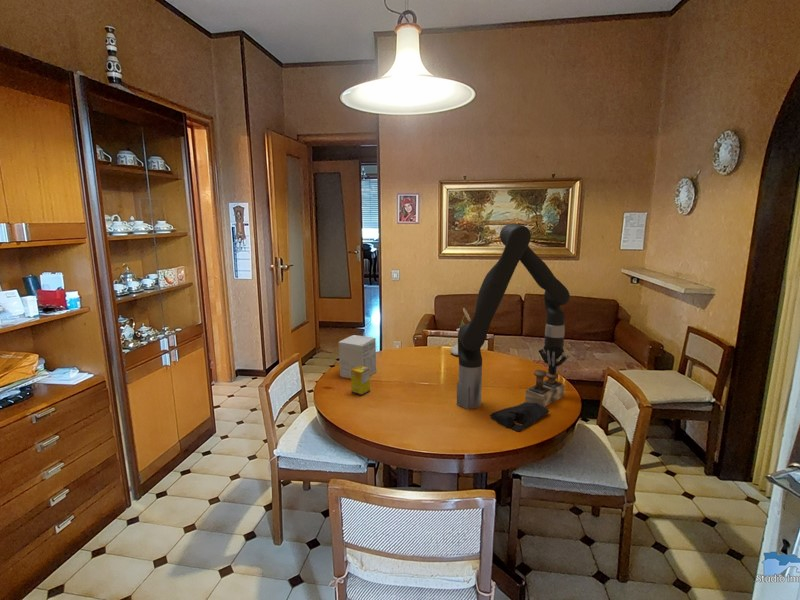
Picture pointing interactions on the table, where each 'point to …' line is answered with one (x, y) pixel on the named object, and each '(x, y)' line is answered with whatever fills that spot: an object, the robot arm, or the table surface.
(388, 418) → the table surface
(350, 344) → the supplement box
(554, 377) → the brown mushroom knob
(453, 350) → the flower in vase
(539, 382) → the brown rounded piece
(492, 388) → the table surface
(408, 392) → the table surface
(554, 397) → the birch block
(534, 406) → the black folded cloth
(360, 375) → the supplement box
